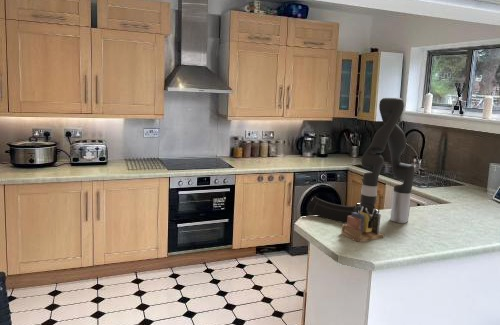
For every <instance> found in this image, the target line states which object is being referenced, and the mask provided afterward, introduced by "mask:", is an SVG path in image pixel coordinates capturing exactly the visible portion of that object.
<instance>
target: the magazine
mask: <svg viewBox="0 0 500 325" xmlns="http://www.w3.org/2000/svg"><path fill="white" fill-rule="evenodd" d="M306 211H308V212H309V213H311V216H313V215H314V216H317V217H321V218H323V219H327V220H330V221H332V222H333V221H334V222H339V223H343V224H347V216H351V215H352V213H353V212H356V205H352V206H351V205H349V206H348V205H343V204H336V203H333V202H330V201H326V200H323V199H321V198H319V197H317V196H316V195H315V196H313V197H312V198H311V200H310V202H308V205H307V206H306Z"/></svg>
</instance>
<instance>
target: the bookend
mask: <svg viewBox="0 0 500 325" xmlns="http://www.w3.org/2000/svg"><path fill="white" fill-rule="evenodd" d="M381 218H382V216H381V214H380V213H379V214H378V218H377V221H373V227H372V231H371V232H373V233H376V234H379V233H380V225H381Z"/></svg>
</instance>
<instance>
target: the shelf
mask: <svg viewBox="0 0 500 325" xmlns="http://www.w3.org/2000/svg"><path fill="white" fill-rule="evenodd" d="M363 225H364V215H362V214H360V213H357V212H353V213H352V215H351V216H347V223H343V224H342V225H341V233H340V235H343V236H345V237H347V238H349V239H350V240H353V241H355V242H356V243H361V242H366V241H371V240H378V239H383V238H384V234H382V233H380V232H379V234H376V233H373V232H365V231H363Z"/></svg>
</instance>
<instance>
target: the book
mask: <svg viewBox="0 0 500 325" xmlns="http://www.w3.org/2000/svg"><path fill="white" fill-rule="evenodd" d="M360 214H362V215H364V225H363V231H365V232H371V231H372V228H370V229H369V228H368V222H369V217H368V214H366V213H364V212H360ZM370 215H372V214H370ZM371 219H372V216H371Z"/></svg>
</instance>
